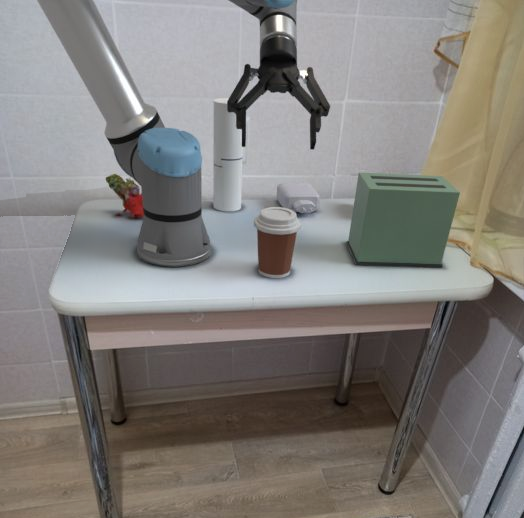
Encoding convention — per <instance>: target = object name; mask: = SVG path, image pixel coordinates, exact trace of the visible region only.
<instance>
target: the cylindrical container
mask: <svg viewBox="0 0 524 518" xmlns="http://www.w3.org/2000/svg"><path fill="white" fill-rule="evenodd" d="M228 99H229V97H228V98H227V97H221V98H220V97H219V98H215V99H213V197H212V198H213V200H212V201H213V203H212V204H213V209H215V210H217V211H220V212H236V211H239V210H241V209H242V195H243V193H242V192H243V191H242V190H243V163H244V162H243V161H244V158H243V156H244V147H242V129H237V128H236V114H235V113H234V112H231V113H230V112H228V111H227V101H228ZM240 100H241V99H240ZM240 100H239V101H240Z"/></svg>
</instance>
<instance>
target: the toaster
mask: <svg viewBox="0 0 524 518" xmlns="http://www.w3.org/2000/svg"><path fill="white" fill-rule="evenodd" d="M460 195H461V192H460V191H459V190H458V188H456V187H455V186H454V185H453V184H452V183H450V181H448V180H447V179H446V178H445V177H444V176H443V175H429V174H427V175H426V174H404V173H403V174H401V173H400V174H399V173H379V172H378V173H376V172H358V175H357V182H356V188H355V195H354V202H353V208H352V214H351V221H350V227H349V233H348V239H347V240H346V246H347V248H348V250H349V252H350V256H351V258H352V260H353V262H354V264H355V266H368V267H369V266H372V267H373V266H376V267H403V268H404V267H405V268H407V267H408V268H439V269H442V268H443V266H444V265H443V263H442V262H443V258H444V254H445V250H446V248H447V243H448V239H449V237H450V236H449V235H450V232H451V228H452V225H453V220H454V218H455V213H456V210H457V206H458V203H459V198H460Z"/></svg>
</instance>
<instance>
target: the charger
mask: <svg viewBox="0 0 524 518" xmlns="http://www.w3.org/2000/svg"><path fill="white" fill-rule="evenodd" d="M276 200H277V202H278V203H279V204H280V206H281V207H283V208H287V209H290V210H293V211H294V212H295V213H301V214H312V213H314V212H317V211H318V210H319V209H320V201H321V195H320V194H319V193H318V192H317V191H316V190H315V189H314V187H313V186H312V185H311V184H310V183H308V182H295V183H294V182H284V183H283V182H282V183H279V184H278V185H277V188H276Z"/></svg>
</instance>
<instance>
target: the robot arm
mask: <svg viewBox="0 0 524 518" xmlns="http://www.w3.org/2000/svg"><path fill="white" fill-rule="evenodd" d="M36 1H37V3H38V5H39V6H40V8H41V10H42V12H43V13H44V15H45V17H46V18H47V21H48V22H49V24H50V25H51V28H52V29H53V31H54V33H55V35H56V36H57V38H58V40H59V41H60V43H61V45H62V47H63V49H64V50H65V53H66V54H67V56H68V57H69V59H70V61H71V63H72V64H73V66H74V68H75V69H76V71H77V74H78V75H79V77H80V78H81V80H82V82H83V84H84V85H85V87H86V89H87V91H88V93H89V95H90V96H91V98H92V100H93V101H94V103H95V105H96V106H97V109H98V110H99V112H100V114H101V116H102V117H103V119H104V121H105V124H106V125H105V129H104V136H105V138H106V139H107V141H108V143H109V146H111V148H112V150H113V154H114V158H115V160H116V162H117V164H118V166H119V167H120V169H121V170H122V171H123V172H124V174H126V175H127V176H129V177H130V178H132V180H133V181H134V182H135V183H137V185H138V186H139V187H140V188H141V193H142V201H143V214H144V217H142V222H141V225H140V228H139V229H140V230H139V233H138V237H137V240H136V251H137V253H136V254H137V255H138V257H139V259H141V260H142V261H144V262H146V263H148V264H152V265H154V266H159V267H169V268H173V267H174V268H175V267H178V268H179V267H187V266H193V265H196V264H200V263H201V262H204V261H205V260H206V259H207V258H209V257H210V256H211V253H212V244H211V239H210V236H209V234H208V230H207V228H206V225H205V223H204V218H203V215H202V214H203V213H202V210H203V208H202V206H203V205H202V204H203V203H202V200H203V199H202V193H203V192H202V191H203V190H202V188H203V187H202V166H203V165H202V164H203V156H202V151H201V144H200V141H199V140H198V138H197V137H196V136H195V135H194V134H192V133H191V132H188V131H186V130H180V129H179V128H175V127H166V126H165V124H164V122H163V121H162V118H161V116H160V114H159V112H158V110H157V108H156V107H155V106H153V105H150V104H147V103H146V102H145V101H144V99H143V96H142V95H141V93H140V91H139V89H138V87H137V85H136V83H135V81H134V78H133V77H132V75H131V73H130V71H129V69H128V67H127V65H126V63H125V61H124V58H123V57H122V55H121V52H120V51H119V48H118V47H117V45H116V43H115V41H114V39H113V37H112V35H111V33H110V31H109V29H108V27H107V25H106V23H105V21H104V19H103V17H102V15H101V13H100V11H99V8H98V7H97V5H96V3H95V1H94V0H36ZM228 2H230V3H232V4H234V5H236V6H237V7H238V8H240V9H242V10H244V11H245V12H246V13H248V14H249V15H251V16H253V17H255V18H256V19H257V20H258V21H259V67H258V68H257V67H251V64H249V63H246V64H245V65H244V68H243V74H242V75H241V76H240V79H239V80H238V82H237V84H236V86H235V87H234V89H233V91H231V94H230V95H229V97H228V98H229V99H228V101H227V111H228V112H230V113H231V112H234V113H235V114H236V128H237V129H242V147H243V148H246V145H247V110H248V109H249V108H251V106H252V105H253V104H254V103H255V102H256V101H258V99H259V98H260V97H262V96H264V95H265V94H266V93H267V92H270V93H271V94H273V93H274V94H275V93H280V94H286V93H287V92H288V93H289V94H290V96H291V97H293V98H295V99H296V100H297V101H298V103H300V104H301V106H302V107H303V108H304V109H305V110H306V111H307V112H308V114H310V117H309V149H310V150H312V151H313V150H315V147H316V145H317V133H320V131H321V129H322V117H324V118H327V117H328V115H329V113H330V110H331V104H330V103H329V100H328V99H327V97H326V95H325V94H324V92H323V90H322V89H321V87H320V85H319V83H318V81H317V79H316V78H315V74H314V68H313V67H312V66H308V67H307V68H306V70H299V68H298V49H297V47H298V35H297V10H298V9H297V7H298V0H228ZM255 77H256V78H257V79H258V81H257V83H256V84H255V85H254V86H253V87H252V88H251V89H250V90H249V91H248V92H247V93H246V94H245V95H244V93H245V91H246V90H247V88H248V86H249V84H250V82H252V81H253V80H254V78H255ZM299 79H301V80H302V83H303V84H305V85H306V89H307V90H308V92H307V91H306V90H305V88H303V86H302V85H301V82H300V81H299ZM243 95H244V96H243ZM242 96H243V97H242ZM239 100H240V101H239Z"/></svg>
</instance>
